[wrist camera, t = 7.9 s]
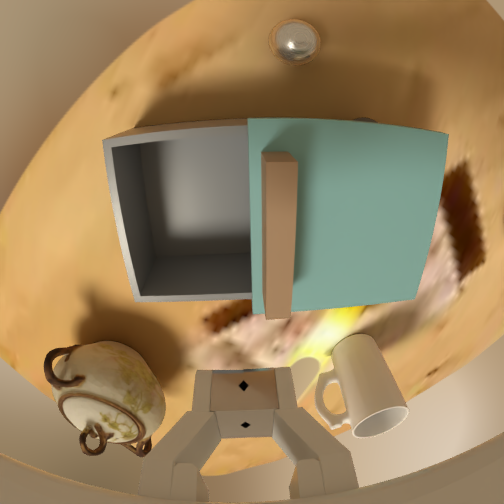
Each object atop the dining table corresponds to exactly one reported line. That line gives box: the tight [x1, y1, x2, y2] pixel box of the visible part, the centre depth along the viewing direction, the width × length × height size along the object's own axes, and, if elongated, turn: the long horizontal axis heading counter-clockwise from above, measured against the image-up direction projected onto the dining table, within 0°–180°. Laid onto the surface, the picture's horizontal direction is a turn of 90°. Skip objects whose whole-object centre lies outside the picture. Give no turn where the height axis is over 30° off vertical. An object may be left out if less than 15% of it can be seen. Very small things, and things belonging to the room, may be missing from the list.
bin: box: [102, 118, 252, 302], centre depth 24 cm, size 13×13×7 cm
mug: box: [315, 334, 409, 438], centre depth 33 cm, size 10×7×12 cm, turn 101°
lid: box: [247, 118, 449, 320], centre depth 19 cm, size 14×14×4 cm
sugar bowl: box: [44, 341, 166, 457], centre depth 30 cm, size 20×15×15 cm
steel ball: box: [269, 19, 321, 65], centre depth 19 cm, size 4×4×4 cm
